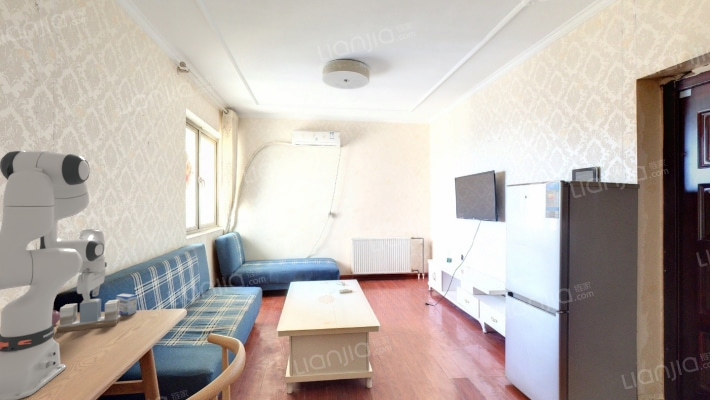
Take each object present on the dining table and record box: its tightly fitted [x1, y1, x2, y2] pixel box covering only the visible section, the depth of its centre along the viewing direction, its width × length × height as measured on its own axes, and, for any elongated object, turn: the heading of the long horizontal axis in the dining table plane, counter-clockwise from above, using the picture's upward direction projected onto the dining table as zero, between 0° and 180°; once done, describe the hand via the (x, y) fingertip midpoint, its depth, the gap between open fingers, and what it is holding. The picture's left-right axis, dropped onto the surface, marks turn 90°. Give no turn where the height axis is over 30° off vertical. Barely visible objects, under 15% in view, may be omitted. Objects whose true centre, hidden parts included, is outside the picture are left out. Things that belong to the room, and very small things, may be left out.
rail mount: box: [55, 299, 122, 333], centre depth 136 cm, size 8×20×9 cm, turn 114°
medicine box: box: [115, 293, 138, 316], centre depth 151 cm, size 8×4×9 cm, turn 77°
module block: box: [79, 298, 102, 323], centre depth 135 cm, size 4×6×9 cm
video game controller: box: [52, 309, 60, 326], centre depth 135 cm, size 10×5×7 cm, turn 85°
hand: (91, 298), depth 135 cm, fingers open, 8 cm apart
